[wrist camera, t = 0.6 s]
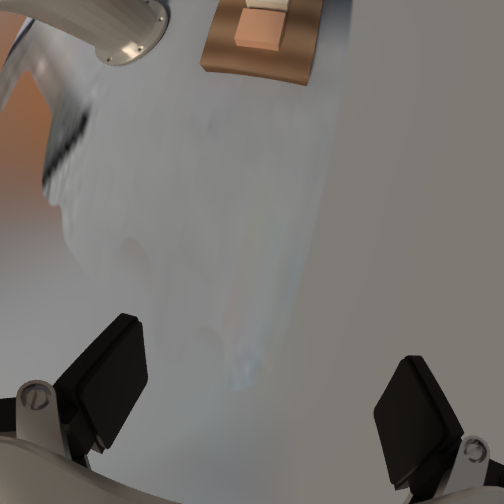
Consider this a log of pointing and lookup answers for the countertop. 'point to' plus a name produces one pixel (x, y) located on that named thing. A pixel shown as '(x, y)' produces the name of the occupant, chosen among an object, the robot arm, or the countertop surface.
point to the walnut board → (263, 60)
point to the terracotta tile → (260, 29)
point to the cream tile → (269, 4)
